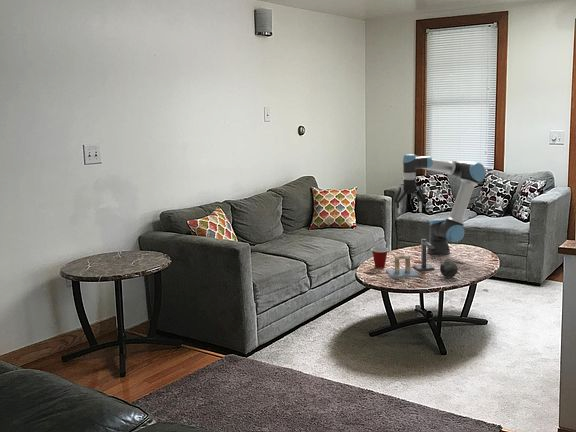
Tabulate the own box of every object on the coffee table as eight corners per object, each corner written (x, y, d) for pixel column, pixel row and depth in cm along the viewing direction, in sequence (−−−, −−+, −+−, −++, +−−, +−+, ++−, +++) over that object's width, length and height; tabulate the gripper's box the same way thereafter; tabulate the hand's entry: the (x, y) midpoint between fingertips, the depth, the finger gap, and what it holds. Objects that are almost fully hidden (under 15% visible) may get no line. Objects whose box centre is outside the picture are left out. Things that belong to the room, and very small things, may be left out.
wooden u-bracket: (407, 271, 379) (407, 254, 378) (410, 273, 375) (410, 255, 373) (394, 271, 379) (394, 254, 377) (397, 273, 374) (396, 256, 372)
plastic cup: (378, 270, 388) (377, 251, 385) (368, 266, 397) (367, 248, 395) (392, 267, 392) (392, 248, 390) (382, 264, 402) (381, 245, 400)
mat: (411, 269, 385) (411, 268, 385) (419, 276, 370) (419, 275, 369) (386, 271, 384) (385, 269, 384) (392, 278, 368) (392, 276, 368)
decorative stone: (437, 278, 365) (437, 261, 364) (444, 274, 373) (444, 257, 371) (453, 280, 359) (453, 263, 357) (460, 276, 367) (460, 259, 365)
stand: (429, 266, 392) (429, 237, 389) (440, 275, 371) (441, 244, 368) (413, 267, 392) (413, 238, 388) (424, 276, 370) (424, 245, 367)
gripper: (391, 180, 388) (392, 214, 392) (430, 178, 390) (431, 212, 394) (388, 179, 396) (389, 212, 399) (427, 177, 398) (427, 210, 401)
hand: (409, 212), depth 397 cm, fingers open, 13 cm apart
